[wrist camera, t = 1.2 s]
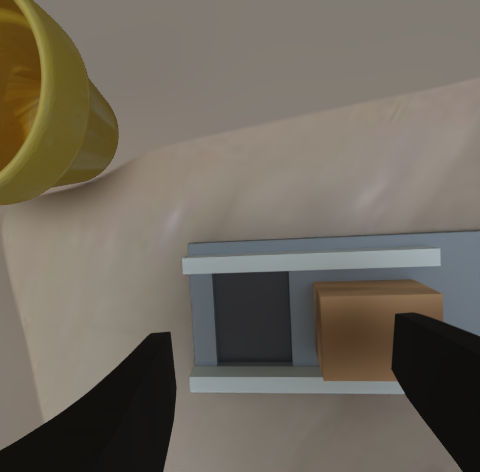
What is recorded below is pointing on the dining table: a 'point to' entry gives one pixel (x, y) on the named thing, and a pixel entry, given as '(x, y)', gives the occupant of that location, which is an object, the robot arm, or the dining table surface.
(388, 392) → the channel
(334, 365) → the block
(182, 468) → the dining table surface
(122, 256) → the dining table surface
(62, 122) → the plant pot
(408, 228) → the dining table surface
